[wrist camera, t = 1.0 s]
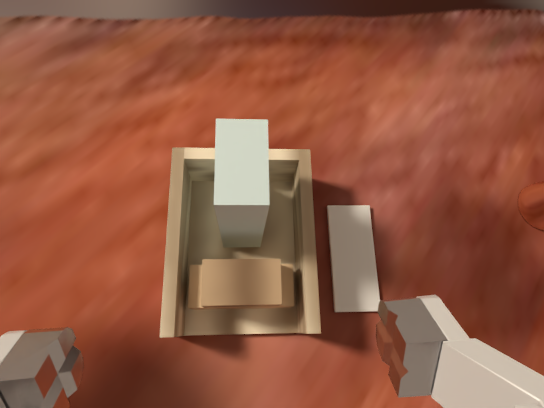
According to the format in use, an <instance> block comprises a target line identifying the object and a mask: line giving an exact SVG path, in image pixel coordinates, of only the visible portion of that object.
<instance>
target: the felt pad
mask: <svg viewBox="0 0 544 408" xmlns="http://www.w3.org/2000/svg"><path fill="white" fill-rule="evenodd" d="M327 218H328V232H329V246H330V260H331V274H332V288H333V302H334V312H369V311H378V305H379V302H380V297H379V288H378V278H377V269H376V260H375V251H374V242H373V233H372V224H371V214H370V205H328V206H327Z"/></svg>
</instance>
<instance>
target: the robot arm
mask: <svg viewBox="0 0 544 408" xmlns="http://www.w3.org/2000/svg"><path fill="white" fill-rule="evenodd" d="M378 314H379V316H380V318H381V320H380V321H379V322H378V324H377V325H376V342H377V347H378V351H379V354H380V356H381V359H382V361H383V362H385V363H386V364H388V365H389V374H388V375H389V377H390V380H391V382H392V384H393V387H394V389H395V391H396V394H397V396H398V397H411V396H426V395H432V396H431V397H432V398H433V399H434V400H436V401H437V402H438V403H439V404H440V405H441V406H442V407H443V408H544V376H542V375H541V374H539V373H537V372H535V371H533V370H532V369H530V368H528V367H526V366H524V365H523V364H521V363H519V362H517V361H515V360H514V359H512V358H510V357H508V356H506V355H505V354H503V353H501V352H499V351H497V350H496V349H494V348H492V347H490V346H488V345H487V344H485V343H483V342H481V341H479V340H478V339H476V338H475V339H470V338H469V337H468V336H467V334H466V333H465V332H464V330H463V329H462V328H461V326H460V325H459V323H458V322H457V321H456V319H455V318H454V317H453V315H452V314H451V313H450V311H449V310H448V309H447V307H446V306H445V305H444V303H443V302H442V301H441V299H440V298H439V297H438V296H436V295H429V296H419V297H412V298H402V299H391V300H380V302H379V305H378ZM75 339H76V337H75V335H74V332H73V330H72V329H71V328H68V327H65V328H49V329H33V330H24V331H9V332H7V333H5V334H3V335H2V336H1V337H0V408H69V407H70V403H69V400H68V397H69V396H70V395H72V394H73V393H74V392H75V391H76V390H77V389H78V387H79V385H80V382H81V380H82V376H83V370H84V363H83V357H82V354H81V351H80V350H78V349H77V348H75V347H74V346H73V343H74V341H75Z"/></svg>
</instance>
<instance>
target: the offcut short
mask: <svg viewBox="0 0 544 408" xmlns="http://www.w3.org/2000/svg"><path fill="white" fill-rule="evenodd" d="M280 305H282V289H281V259H202V287H201V306H202V307H204V308H207V307H259V306H280Z"/></svg>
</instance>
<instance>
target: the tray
mask: <svg viewBox="0 0 544 408" xmlns="http://www.w3.org/2000/svg"><path fill="white" fill-rule="evenodd" d="M268 154H269V200H270V205H269V210H268V215H267V219H266V224H265V228H264V233H263V237H262V242H261V246H260V247H228V248H224V247H223V242H222V238H221V234H220V230H219V226H218V221H217V217H216V213H215V209H214V174H215V148H172V162H171V176H170V191H169V206H168V221H167V235H166V250H165V265H164V280H163V294H162V309H161V324H160V337H178V336H189V335H229V334H269V333H305V334H317V333H321V325H320V308H319V291H318V275H317V258H316V241H315V224H314V208H313V191H312V174H311V158H310V150H309V149H268ZM202 259H281V264H293V282H294V306H293V307H290V308H258V309H207V310H193V309H190V308H188V296H189V274H190V265H202Z"/></svg>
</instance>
